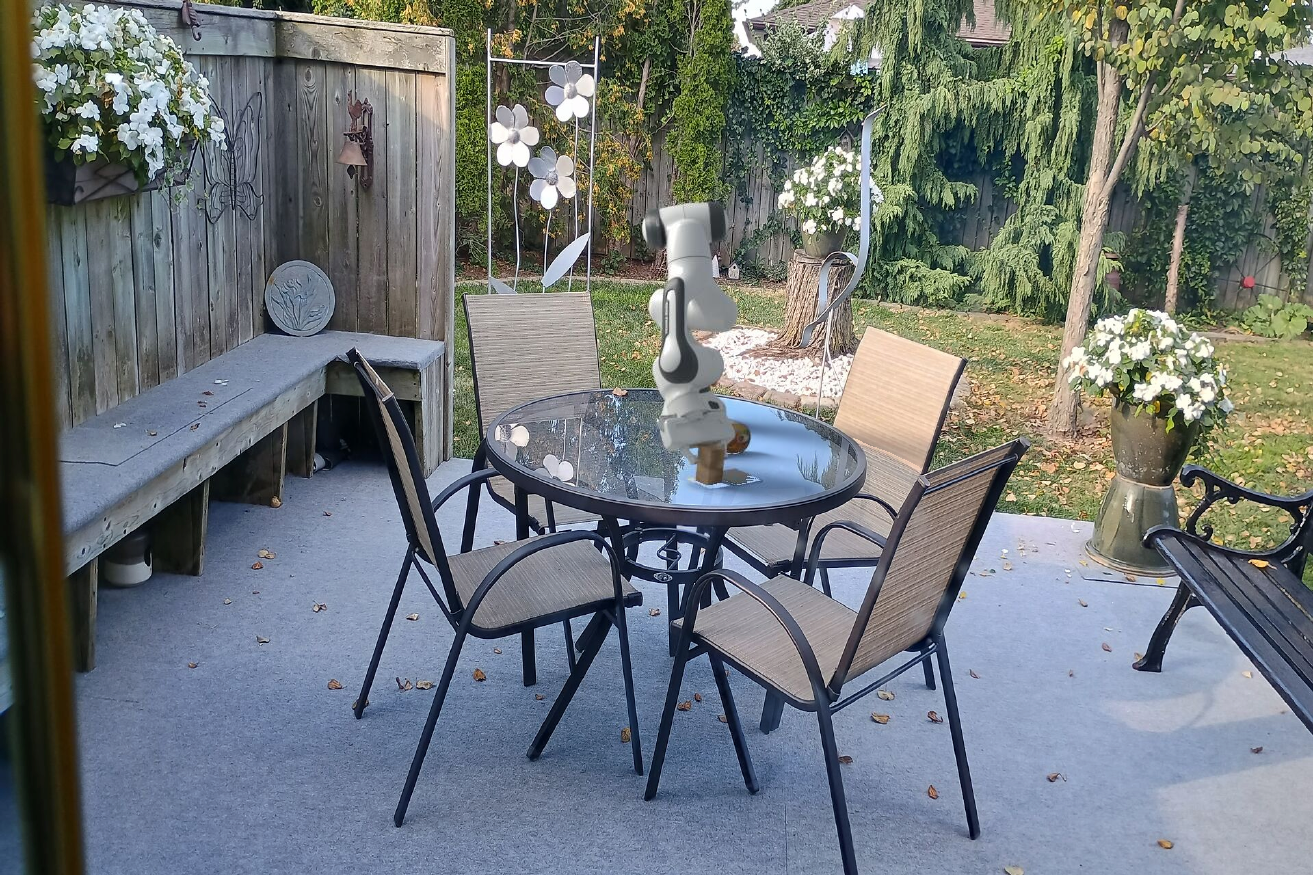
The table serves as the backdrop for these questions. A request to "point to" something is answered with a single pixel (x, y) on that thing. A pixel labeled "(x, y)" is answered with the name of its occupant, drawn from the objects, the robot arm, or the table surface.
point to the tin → (739, 438)
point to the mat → (736, 476)
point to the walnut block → (710, 464)
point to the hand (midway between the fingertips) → (710, 461)
